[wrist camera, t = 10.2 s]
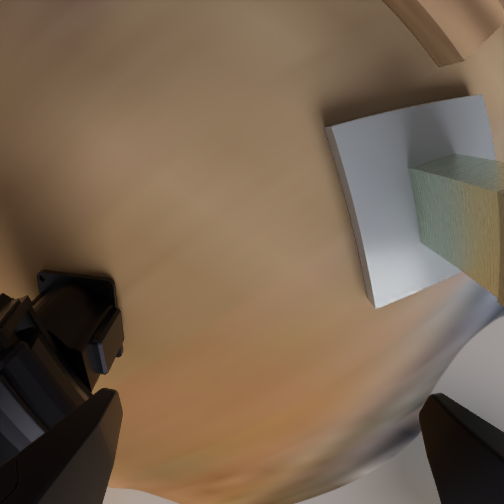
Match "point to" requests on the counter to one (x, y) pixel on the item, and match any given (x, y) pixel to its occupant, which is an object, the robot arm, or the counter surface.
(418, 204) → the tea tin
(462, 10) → the tan flat block
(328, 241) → the counter surface
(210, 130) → the counter surface
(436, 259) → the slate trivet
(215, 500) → the counter surface
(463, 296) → the counter surface
